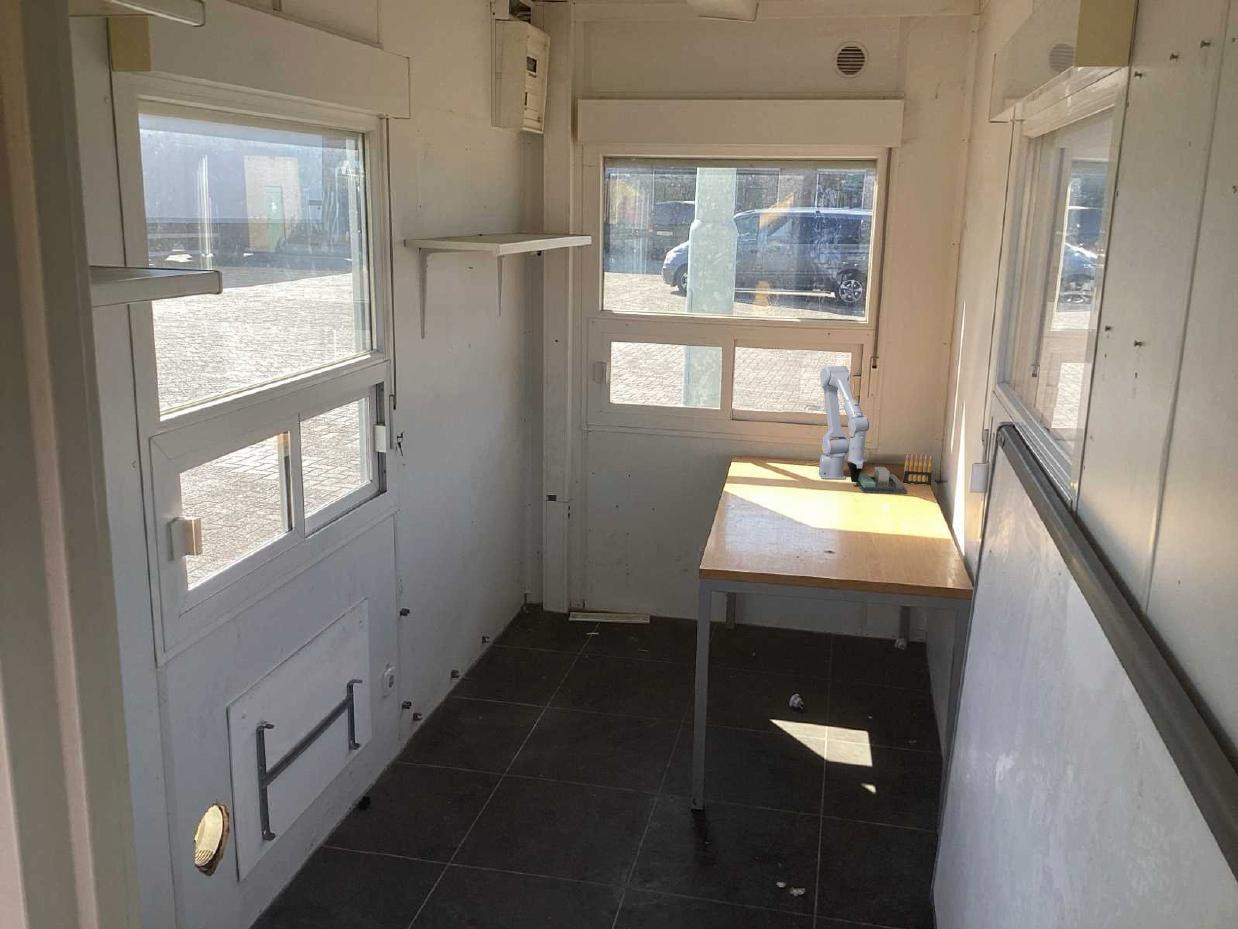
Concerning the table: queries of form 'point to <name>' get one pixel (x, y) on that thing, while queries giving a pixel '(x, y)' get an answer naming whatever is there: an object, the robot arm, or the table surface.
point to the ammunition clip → (917, 470)
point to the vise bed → (893, 487)
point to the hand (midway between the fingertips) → (854, 481)
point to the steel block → (881, 477)
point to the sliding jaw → (866, 480)
